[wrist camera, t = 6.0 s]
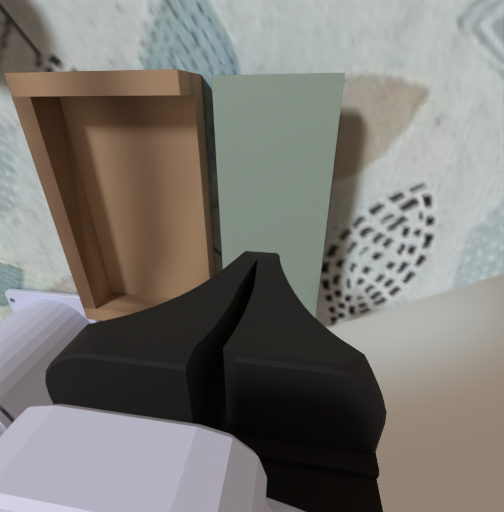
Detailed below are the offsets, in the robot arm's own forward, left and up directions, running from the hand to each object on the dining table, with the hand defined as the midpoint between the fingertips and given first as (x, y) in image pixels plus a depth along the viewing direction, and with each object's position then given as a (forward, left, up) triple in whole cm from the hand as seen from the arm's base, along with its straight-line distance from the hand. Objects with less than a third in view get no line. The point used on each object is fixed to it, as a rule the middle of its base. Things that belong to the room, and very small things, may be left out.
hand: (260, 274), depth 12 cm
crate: (0, +9, -8) cm, 12 cm away
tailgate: (0, +3, -7) cm, 8 cm away
